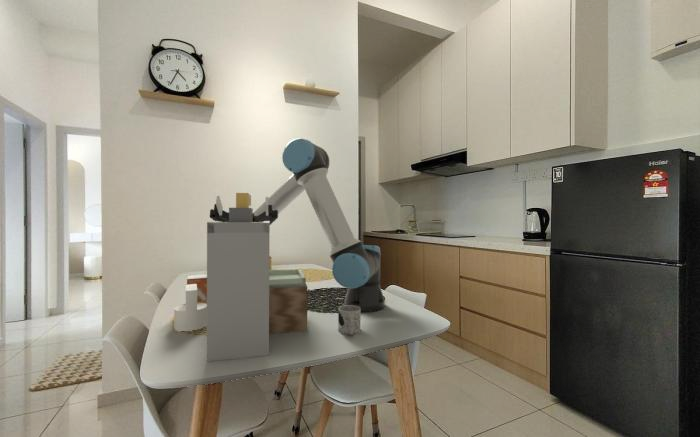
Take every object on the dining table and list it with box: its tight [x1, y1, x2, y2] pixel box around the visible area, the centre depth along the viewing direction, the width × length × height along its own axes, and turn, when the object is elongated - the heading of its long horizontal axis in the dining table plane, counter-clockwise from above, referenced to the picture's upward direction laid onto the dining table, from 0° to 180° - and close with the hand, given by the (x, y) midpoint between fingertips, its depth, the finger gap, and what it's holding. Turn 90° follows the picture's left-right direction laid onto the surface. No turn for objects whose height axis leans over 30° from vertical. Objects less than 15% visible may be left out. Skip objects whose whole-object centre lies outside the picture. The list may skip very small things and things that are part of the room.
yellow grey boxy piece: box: [228, 192, 254, 222], centre depth 84 cm, size 5×19×10 cm, turn 15°
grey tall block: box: [206, 220, 271, 363], centre depth 79 cm, size 14×12×32 cm
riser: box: [269, 284, 308, 335], centre depth 98 cm, size 13×17×13 cm
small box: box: [186, 273, 207, 304], centre depth 105 cm, size 8×6×13 cm
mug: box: [337, 304, 362, 335], centre depth 90 cm, size 10×7×7 cm
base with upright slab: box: [173, 284, 207, 333], centre depth 94 cm, size 9×9×12 cm
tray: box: [269, 268, 307, 288], centre depth 98 cm, size 12×16×2 cm
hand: (242, 200), depth 90 cm, fingers open, 13 cm apart
